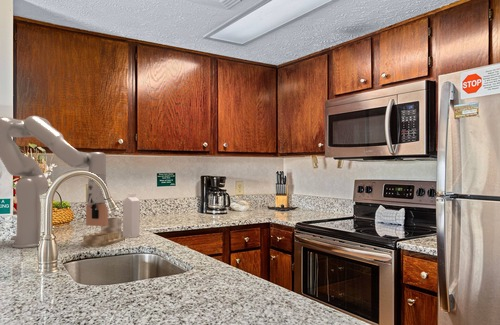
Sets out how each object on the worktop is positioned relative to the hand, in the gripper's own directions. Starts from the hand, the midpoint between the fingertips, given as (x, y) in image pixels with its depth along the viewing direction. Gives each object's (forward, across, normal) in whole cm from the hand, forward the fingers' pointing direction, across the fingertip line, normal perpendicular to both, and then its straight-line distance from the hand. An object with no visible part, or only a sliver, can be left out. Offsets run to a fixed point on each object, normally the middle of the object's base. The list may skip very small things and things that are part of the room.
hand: (96, 217), depth 180 cm
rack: (+12, +6, 0) cm, 14 cm away
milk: (+13, +24, -4) cm, 27 cm away
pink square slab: (+4, 0, 0) cm, 4 cm away
